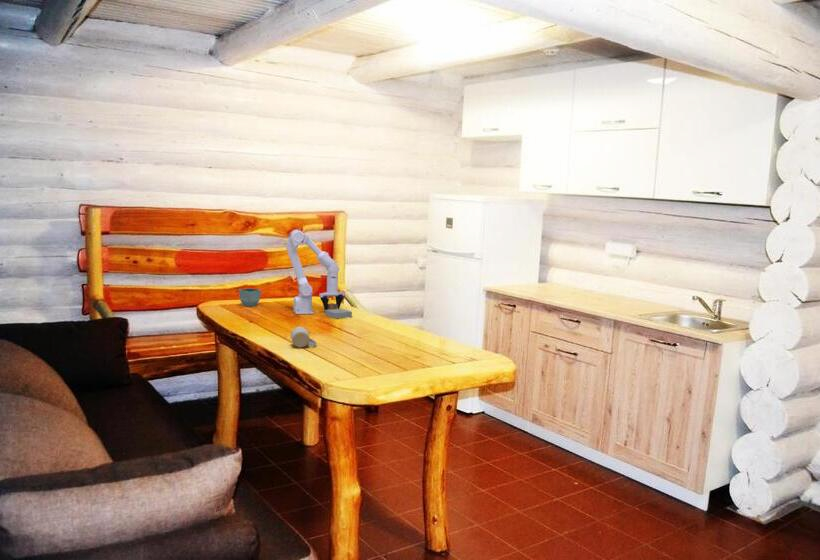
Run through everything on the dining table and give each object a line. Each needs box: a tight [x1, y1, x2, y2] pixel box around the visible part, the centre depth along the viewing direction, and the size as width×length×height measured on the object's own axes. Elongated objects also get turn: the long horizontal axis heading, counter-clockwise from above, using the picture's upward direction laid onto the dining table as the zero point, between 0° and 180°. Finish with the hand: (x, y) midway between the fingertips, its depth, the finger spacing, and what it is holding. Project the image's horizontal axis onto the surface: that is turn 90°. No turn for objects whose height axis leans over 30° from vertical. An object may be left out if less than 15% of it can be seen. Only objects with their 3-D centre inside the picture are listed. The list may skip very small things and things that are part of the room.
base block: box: [324, 308, 353, 320], centre depth 355 cm, size 10×10×3 cm
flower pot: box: [238, 287, 262, 308], centre depth 376 cm, size 9×9×9 cm
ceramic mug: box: [290, 326, 318, 348], centre depth 288 cm, size 11×8×8 cm
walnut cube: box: [328, 303, 338, 310], centre depth 366 cm, size 4×4×4 cm
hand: (331, 309), depth 366 cm, fingers open, 7 cm apart
